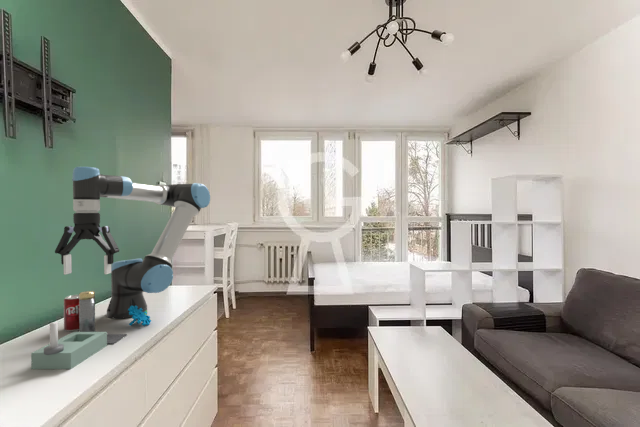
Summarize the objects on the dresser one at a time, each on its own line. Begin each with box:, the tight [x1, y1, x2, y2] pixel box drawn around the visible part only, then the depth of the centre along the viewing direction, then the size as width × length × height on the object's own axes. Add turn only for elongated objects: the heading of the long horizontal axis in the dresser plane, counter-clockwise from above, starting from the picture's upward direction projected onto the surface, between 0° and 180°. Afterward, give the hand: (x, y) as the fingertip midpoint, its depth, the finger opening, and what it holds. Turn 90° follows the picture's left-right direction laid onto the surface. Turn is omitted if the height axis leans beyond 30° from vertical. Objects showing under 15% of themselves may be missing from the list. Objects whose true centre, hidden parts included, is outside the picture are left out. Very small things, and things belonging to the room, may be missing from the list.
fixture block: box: [30, 321, 108, 370], centre depth 100 cm, size 17×11×12 cm, turn 1°
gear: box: [128, 306, 152, 327], centre depth 128 cm, size 11×6×10 cm
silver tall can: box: [78, 290, 96, 332], centre depth 114 cm, size 4×4×16 cm
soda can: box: [63, 294, 79, 332], centre depth 124 cm, size 7×7×12 cm
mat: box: [107, 333, 128, 345], centre depth 113 cm, size 8×8×1 cm
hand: (87, 273), depth 114 cm, fingers open, 13 cm apart
